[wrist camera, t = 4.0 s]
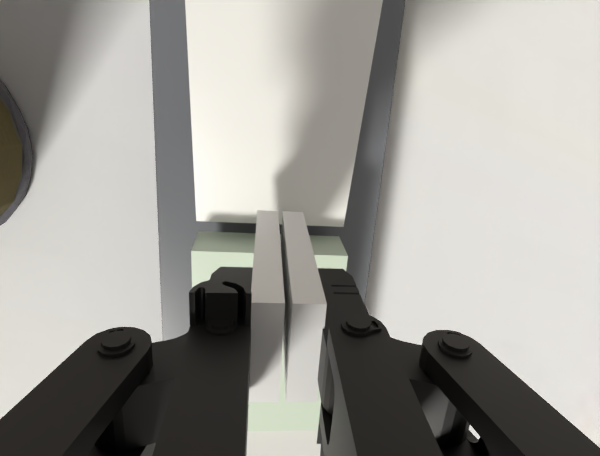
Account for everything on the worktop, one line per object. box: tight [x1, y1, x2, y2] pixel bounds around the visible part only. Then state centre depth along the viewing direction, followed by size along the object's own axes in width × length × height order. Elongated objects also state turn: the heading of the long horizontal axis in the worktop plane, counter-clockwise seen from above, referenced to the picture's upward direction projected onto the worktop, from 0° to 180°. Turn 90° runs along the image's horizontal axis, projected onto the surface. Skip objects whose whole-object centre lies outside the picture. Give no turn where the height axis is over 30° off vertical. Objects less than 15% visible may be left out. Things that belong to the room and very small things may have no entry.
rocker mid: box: [191, 231, 348, 431], centre depth 18 cm, size 6×9×2 cm, turn 176°
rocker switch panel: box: [149, 0, 405, 456], centre depth 22 cm, size 10×34×5 cm, turn 176°
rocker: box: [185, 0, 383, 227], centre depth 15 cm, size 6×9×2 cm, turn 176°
